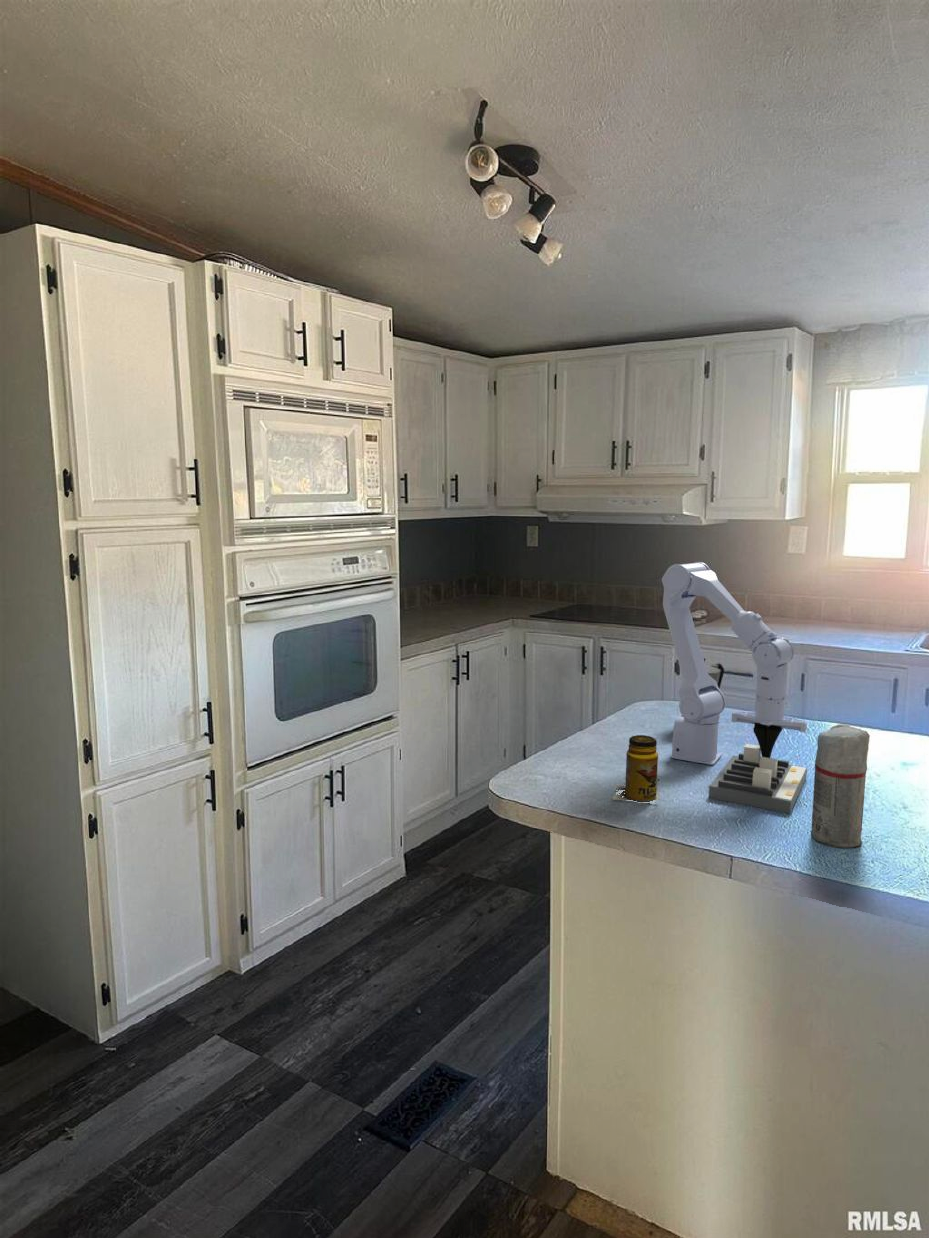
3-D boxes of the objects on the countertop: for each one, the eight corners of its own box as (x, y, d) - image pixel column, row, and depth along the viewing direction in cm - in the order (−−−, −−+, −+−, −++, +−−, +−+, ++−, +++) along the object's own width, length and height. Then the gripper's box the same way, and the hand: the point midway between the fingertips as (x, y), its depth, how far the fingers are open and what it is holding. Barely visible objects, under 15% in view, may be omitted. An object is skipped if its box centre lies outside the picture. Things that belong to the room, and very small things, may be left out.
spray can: (859, 854, 130) (869, 738, 127) (806, 842, 134) (814, 730, 131) (864, 835, 137) (874, 725, 134) (813, 825, 141) (822, 718, 138)
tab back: (743, 763, 166) (744, 746, 165) (745, 759, 168) (746, 743, 167) (758, 765, 164) (759, 749, 164) (760, 762, 166) (761, 746, 166)
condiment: (656, 805, 150) (659, 745, 148) (612, 800, 153) (614, 741, 151) (659, 792, 157) (661, 734, 155) (616, 787, 159) (618, 730, 157)
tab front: (752, 788, 152) (753, 770, 151) (754, 784, 154) (755, 767, 153) (768, 791, 150) (769, 773, 149) (770, 787, 152) (771, 769, 151)
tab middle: (758, 777, 158) (759, 760, 157) (761, 773, 160) (762, 756, 159) (774, 780, 156) (775, 762, 155) (776, 776, 158) (777, 759, 157)
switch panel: (708, 797, 154) (709, 781, 153) (732, 765, 172) (733, 750, 171) (790, 813, 146) (791, 796, 146) (806, 778, 164) (807, 763, 164)
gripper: (729, 696, 162) (726, 758, 165) (805, 705, 155) (800, 771, 157) (737, 688, 168) (733, 749, 171) (810, 697, 161) (805, 761, 163)
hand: (766, 759), depth 164 cm, fingers closed
